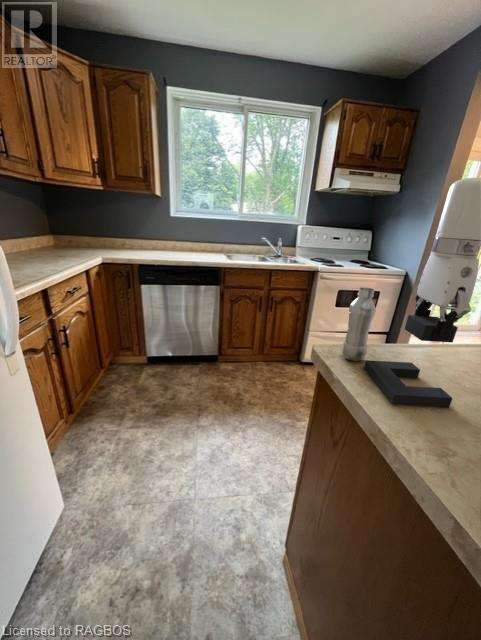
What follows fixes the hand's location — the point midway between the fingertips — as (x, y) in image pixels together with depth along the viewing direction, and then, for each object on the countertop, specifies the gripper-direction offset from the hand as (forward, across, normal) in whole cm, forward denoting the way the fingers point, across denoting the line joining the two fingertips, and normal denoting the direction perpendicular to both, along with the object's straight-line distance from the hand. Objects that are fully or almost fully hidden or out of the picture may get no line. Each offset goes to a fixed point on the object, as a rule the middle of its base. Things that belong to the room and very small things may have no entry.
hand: (428, 331), depth 60 cm
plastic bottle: (+14, +13, +10) cm, 21 cm away
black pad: (+1, 0, 0) cm, 1 cm away
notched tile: (+14, 0, +3) cm, 14 cm away
